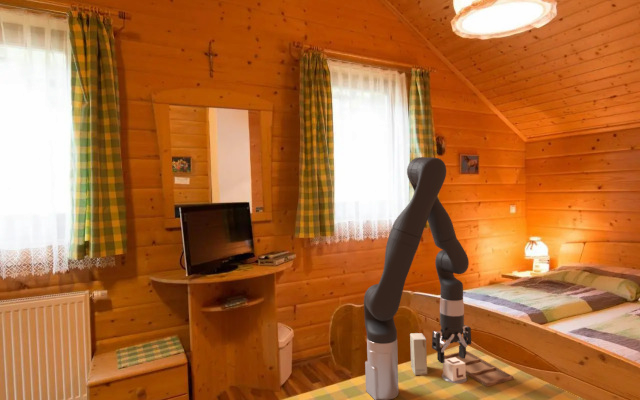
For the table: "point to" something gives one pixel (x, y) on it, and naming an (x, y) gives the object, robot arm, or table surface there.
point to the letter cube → (454, 369)
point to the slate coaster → (454, 381)
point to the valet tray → (482, 370)
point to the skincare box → (418, 353)
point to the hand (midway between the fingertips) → (451, 359)
